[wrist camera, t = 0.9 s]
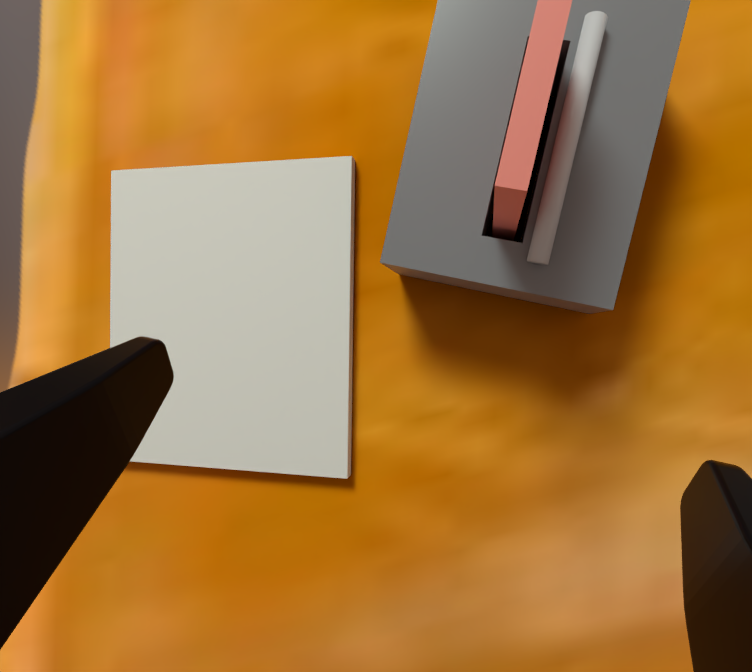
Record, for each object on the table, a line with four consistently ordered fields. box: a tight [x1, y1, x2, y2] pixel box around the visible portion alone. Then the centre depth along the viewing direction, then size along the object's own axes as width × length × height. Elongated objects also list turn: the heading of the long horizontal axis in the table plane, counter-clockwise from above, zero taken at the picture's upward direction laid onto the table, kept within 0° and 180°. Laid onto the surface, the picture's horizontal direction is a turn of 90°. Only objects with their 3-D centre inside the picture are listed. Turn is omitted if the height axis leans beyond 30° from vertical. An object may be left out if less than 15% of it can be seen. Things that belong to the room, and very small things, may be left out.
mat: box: [110, 156, 355, 479], centre depth 24 cm, size 14×12×1 cm
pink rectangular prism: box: [492, 0, 572, 241], centre depth 17 cm, size 6×1×9 cm, turn 167°
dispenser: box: [380, 0, 691, 314], centre depth 19 cm, size 10×8×5 cm
